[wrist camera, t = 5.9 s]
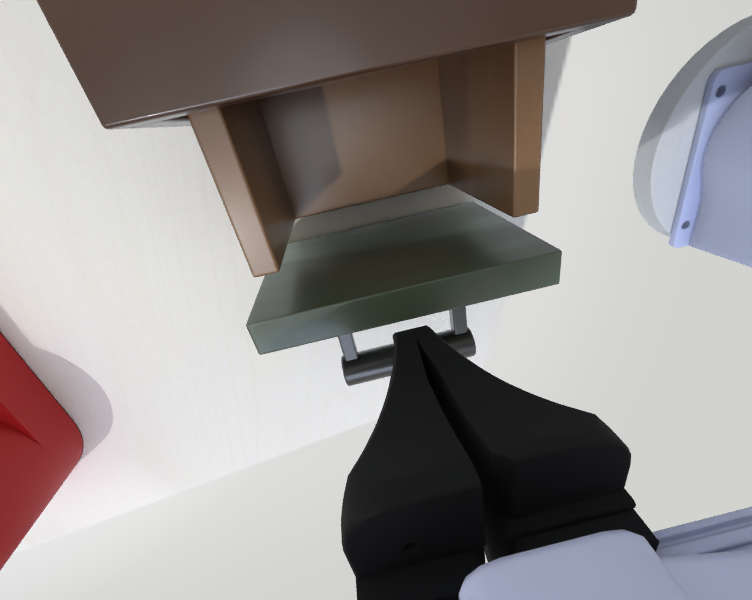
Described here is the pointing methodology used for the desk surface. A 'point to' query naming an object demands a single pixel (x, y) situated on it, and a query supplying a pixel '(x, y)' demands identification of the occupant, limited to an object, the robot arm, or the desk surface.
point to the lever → (29, 448)
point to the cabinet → (280, 45)
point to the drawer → (384, 180)
